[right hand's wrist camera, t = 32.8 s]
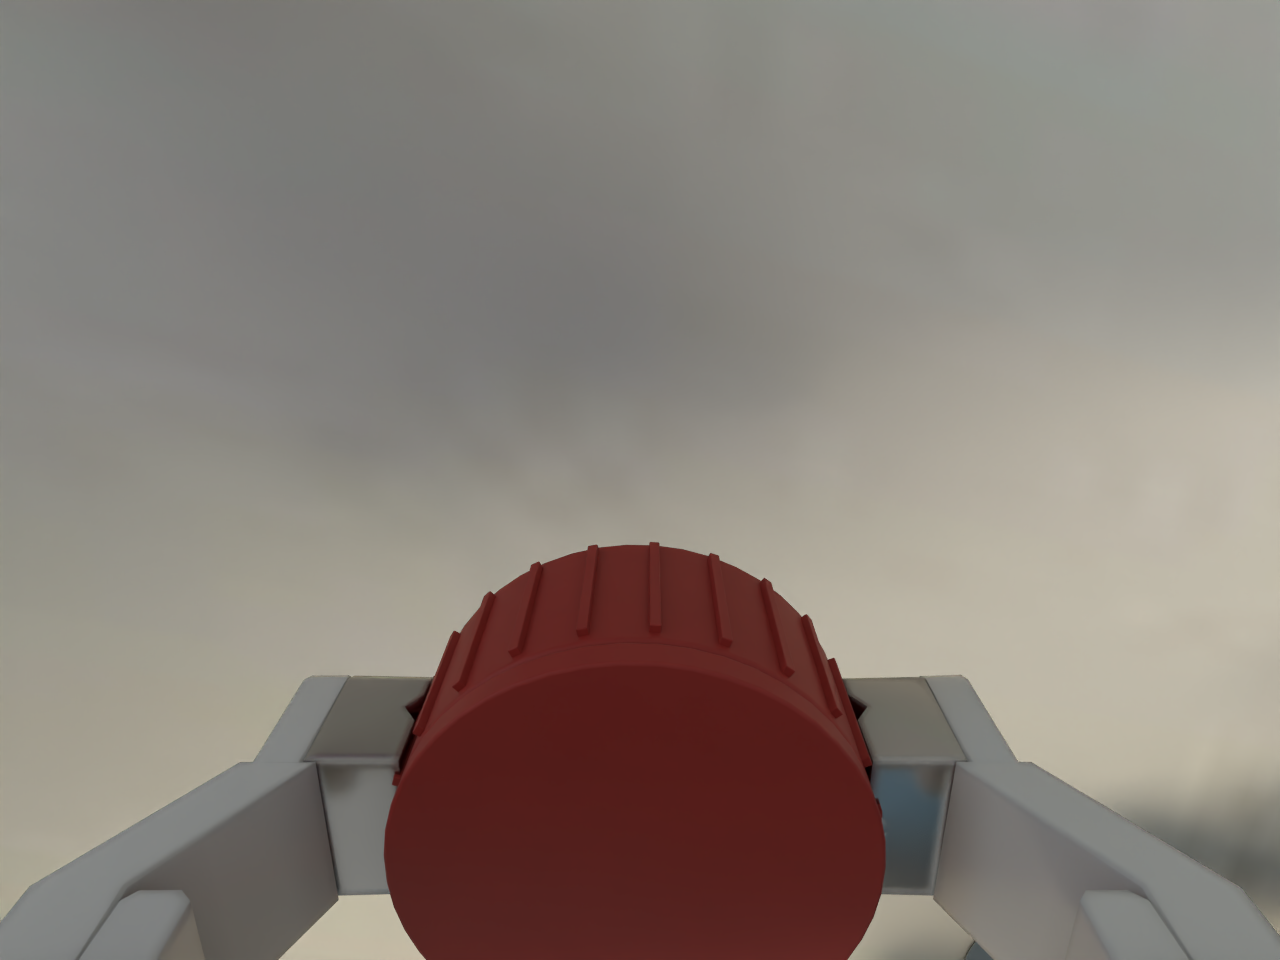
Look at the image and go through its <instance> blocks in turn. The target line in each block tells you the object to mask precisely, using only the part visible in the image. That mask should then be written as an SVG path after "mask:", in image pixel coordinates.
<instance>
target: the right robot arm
mask: <svg viewBox="0 0 1280 960" xmlns="http://www.w3.org/2000/svg"><path fill="white" fill-rule="evenodd" d="M433 679H434V677H394V676H353V677H351V676H349V675H334V676H311V677H308V678H306V679H305V680H304V681H303V682H302V683H301V685H300V687H299V688H298V690H297V692H296V693H295V695H294V696H293V698H292V700H291V701H290V703H289V705H288V706H287V708H286V709H285V711H284V713H283V714H282V716H281V717H280V719H279V721H278V722H277V724H276V726H275V727H274V729H273V730H272V732H271V734H270V735H269V737H268V738H267V740H266V742H265V743H264V745H263V747H262V748H261V750H260V751H259V753H258V755H257V756H256V758H255V760H254V761H253V762H240V763H238V764H236V765H235V766H233V767H231V768H229V769H228V770H226V771H224V772H223V773H221V774H219V775H218V776H216V777H214V778H212V779H211V780H209V781H207V782H206V783H204V784H202V785H201V786H199V787H197V788H196V789H194V790H192V791H190V792H189V793H187V794H185V795H184V796H182V797H180V798H179V799H177V800H175V801H173V802H172V803H170V804H168V805H167V806H165V807H163V808H162V809H160V810H158V811H157V812H155V813H153V814H151V815H150V816H148V817H146V818H145V819H143V820H141V821H140V822H138V823H136V824H134V825H133V826H131V827H129V828H128V829H126V830H124V831H123V832H121V833H119V834H118V835H116V836H114V837H112V838H111V839H109V840H107V841H106V842H104V843H102V844H101V845H99V846H97V847H95V848H94V849H92V850H90V851H89V852H87V853H85V854H84V855H82V856H80V857H79V858H77V859H75V860H73V861H72V862H70V863H68V864H67V865H65V866H63V867H62V868H60V869H58V870H56V871H55V872H53V873H51V874H50V875H48V876H46V877H45V878H43V879H41V880H40V881H38V882H36V883H34V884H33V885H31V886H29V888H28V889H27V890H26V891H25V893H24V894H23V895H22V896H21V898H20V899H19V900H18V901H17V902H16V904H15V905H14V906H13V907H12V909H11V910H10V911H9V912H8V914H7V915H6V916H5V917H4V918H3V920H2V921H1V922H0V960H278V959H279V958H280V957H281V956H282V955H283V954H284V953H285V952H286V951H287V950H288V949H289V948H290V947H291V946H292V945H293V944H294V943H295V942H296V941H297V940H298V939H299V938H300V937H301V936H302V935H303V934H304V933H305V932H306V931H307V930H308V929H310V928H311V927H312V926H313V925H314V924H315V923H316V922H317V921H318V920H319V919H320V918H321V917H322V916H323V915H324V914H325V913H326V912H327V911H328V910H329V909H330V908H331V907H332V906H333V905H334V904H335V903H336V902H337V901H338V895H372V894H390V891H389V888H388V885H387V880H386V871H385V863H384V839H385V828H386V823H387V819H388V815H389V810H390V806H391V803H392V800H393V797H394V795H395V792H396V790H397V787H398V786H394V785H392V781H393V777H394V775H395V774H398V775H400V774H401V771H402V769H403V766H404V764H405V761H406V758H407V756H408V753H409V751H410V748H411V746H412V743H413V740H414V738H415V734H413V730H414V727H415V722H416V719H417V717H418V714H419V712H420V710H421V709H422V707H423V704H424V702H425V699H426V697H427V694H428V692H429V689H430V687H431V684H432V682H433ZM842 680H843V683H844V686H845V688H846V691H847V694H848V697H849V700H850V703H851V705H852V708H853V711H854V714H855V717H856V719H857V722H858V725H859V728H860V731H861V734H862V736H863V739H864V742H865V745H866V748H867V750H868V753H869V756H870V759H871V762H872V765H871V766H868V767H865V770H866V773H867V776H868V779H869V782H870V785H871V788H872V791H873V794H874V796H875V799H876V802H877V804H880V805H881V808H882V818H881V819H882V824H883V829H884V835H885V840H886V868H885V874H884V881H883V887H882V893H881V894H899V895H934V897H933V899H934V900H935V901H936V902H937V903H938V904H939V905H940V906H941V907H942V908H943V909H944V910H945V911H946V912H947V913H948V914H949V915H950V916H951V917H952V918H953V919H954V920H955V921H956V922H957V923H958V924H959V925H960V926H961V927H962V928H963V929H964V930H965V931H966V932H967V933H968V934H969V935H970V936H971V937H972V938H973V939H974V940H975V941H976V942H977V943H978V944H979V945H980V946H981V947H982V948H983V949H984V950H985V951H986V952H987V953H988V954H989V955H990V956H991V957H992V958H993V959H994V960H1280V936H1279V935H1278V933H1277V932H1276V931H1275V929H1274V928H1273V927H1272V926H1271V924H1270V923H1269V922H1268V921H1267V919H1266V918H1265V917H1264V916H1263V914H1262V913H1261V912H1260V911H1259V909H1258V908H1257V907H1256V905H1255V904H1254V903H1253V902H1252V900H1251V899H1250V898H1249V897H1248V895H1247V894H1246V893H1245V892H1244V890H1243V889H1242V888H1241V887H1239V886H1238V885H1236V884H1234V883H1233V882H1231V881H1229V880H1228V879H1226V878H1224V877H1223V876H1221V875H1219V874H1218V873H1216V872H1214V871H1213V870H1211V869H1209V868H1208V867H1206V866H1204V865H1203V864H1201V863H1199V862H1197V861H1196V860H1194V859H1192V858H1191V857H1189V856H1187V855H1186V854H1184V853H1182V852H1181V851H1179V850H1177V849H1176V848H1174V847H1172V846H1171V845H1169V844H1167V843H1166V842H1164V841H1162V840H1161V839H1159V838H1157V837H1156V836H1154V835H1152V834H1151V833H1149V832H1147V831H1146V830H1144V829H1142V828H1141V827H1139V826H1137V825H1136V824H1134V823H1132V822H1131V821H1129V820H1127V819H1126V818H1124V817H1122V816H1120V815H1119V814H1117V813H1115V812H1114V811H1112V810H1110V809H1109V808H1107V807H1105V806H1104V805H1102V804H1100V803H1099V802H1097V801H1095V800H1094V799H1092V798H1090V797H1089V796H1087V795H1085V794H1084V793H1082V792H1080V791H1079V790H1077V789H1075V788H1074V787H1072V786H1070V785H1069V784H1067V783H1065V782H1064V781H1062V780H1060V779H1059V778H1057V777H1055V776H1054V775H1052V774H1050V773H1048V772H1047V771H1045V770H1043V769H1042V768H1040V767H1038V766H1037V765H1035V764H1033V763H1032V762H1018V761H1017V759H1016V757H1015V756H1014V754H1013V752H1012V751H1011V749H1010V747H1009V746H1008V744H1007V743H1006V741H1005V739H1004V738H1003V736H1002V734H1001V733H1000V731H999V729H998V728H997V726H996V725H995V723H994V721H993V720H992V718H991V716H990V715H989V713H988V712H987V710H986V708H985V707H984V705H983V703H982V702H981V700H980V698H979V697H978V695H977V694H976V692H975V690H974V689H973V687H972V685H971V684H970V682H969V680H968V679H967V678H965V677H963V676H962V675H943V676H920V677H896V678H842Z"/></svg>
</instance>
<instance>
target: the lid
mask: <svg viewBox="0 0 1280 960" xmlns="http://www.w3.org/2000/svg"><path fill="white" fill-rule="evenodd" d="M413 734H415V738H414V740H413V743H412V746H411V748H410V751H409V753H408V756H407V758H406V761H405V764H404V766H403V769H402V771H401V774H400V775H398V774H395V775H394V777H393V781H392V785H394V786H398V787H397V790H396V792H395V795H394V797H393V800H392V803H391V806H390V810H389V815H388V819H387V823H386V828H385V839H384V863H385V871H386V880H387V885H388V888H389V891H390V895H391V898H392V902H393V905H394V908H395V910H396V912H397V914H398V917H399V919H400V921H401V923H402V925H403V927H404V929H405V931H406V933H407V934H408V936H409V937H410V939H411V940H412V942H413V943H414V945H415V946H416V948H417V949H418V951H419V952H420V953H421V954H422V955H423V957H424V958H425V959H426V960H847V959H848V958H849V957H850V955H851V954H852V952H853V951H854V950H855V948H856V947H857V945H858V944H859V943H860V941H861V940H862V938H863V936H864V934H865V932H866V930H867V928H868V927H869V925H870V923H871V921H872V919H873V917H874V914H875V911H876V908H877V905H878V902H879V899H880V896H881V893H882V887H883V881H884V874H885V868H886V840H885V835H884V829H883V824H882V819H881V818H882V808H881V805H880V804H877V802H876V799H875V796H874V794H873V791H872V788H871V785H870V782H869V779H868V776H867V773H866V770H865V767H868V766H871V765H872V762H871V759H870V756H869V753H868V750H867V748H866V745H865V742H864V739H863V736H862V734H861V731H860V728H859V725H858V722H857V719H856V717H855V714H854V711H853V708H852V705H851V703H850V700H849V697H848V694H847V691H846V688H845V686H844V683H843V680H842V677H841V674H840V671H839V669H838V666H837V663H836V661H835V658H832V659H829V660H827V657H826V654H825V652H824V650H823V649H822V647H821V645H820V643H819V641H818V638H817V635H816V632H815V629H814V626H813V623H812V620H811V619H810V618H809V616H808V615H807V614H806V615H804V616H803V617H801V616H800V614H799V613H798V612H797V611H796V610H795V609H794V608H793V607H792V606H791V605H790V604H789V603H788V602H787V601H786V600H785V599H784V598H783V597H782V596H780V595H779V594H778V593H776V592H775V591H774V590H773V587H772V584H771V582H770V581H768V580H767V579H765V578H764V579H763V580H762V581H760V580H758V579H757V578H755V577H753V576H751V575H749V574H748V573H746V572H744V571H742V570H740V569H739V568H737V567H735V566H732V565H730V564H727V563H725V562H722V561H720V560H719V556H718V555H715V554H712V553H710V555H709V556H706V555H702V554H698V553H695V552H691V551H687V550H683V549H677V548H669V547H662V546H659V543H657V542H650V543H649V545H621V546H611V547H601V548H598V545H592V546H588V550H586V551H582V552H577V553H573V554H569V555H567V556H564V557H561V558H558V559H555V560H553V561H550V562H547V563H544V564H542V565H541V564H540V562H537V563H534V564H532V565H531V568H530V571H528V572H527V573H525V574H523V575H521V576H519V577H518V578H516V579H515V580H513V581H512V582H510V583H509V584H507V585H506V586H504V587H503V588H501V589H500V590H499V591H498V592H496V593H495V594H493V593H492V592H491V591H490V592H488V593H487V594H486V595H485V596H484V598H483V601H482V604H481V606H480V608H479V609H478V610H477V612H476V613H475V614H474V615H473V616H472V618H471V619H470V620H469V621H468V622H467V624H466V625H465V626H464V628H463V629H462V631H461V633H458V632H456V631H453V633H452V635H451V636H450V639H449V641H448V644H447V646H446V649H445V651H444V654H443V656H442V659H441V661H440V664H439V666H438V669H437V671H436V674H435V676H434V679H433V682H432V684H431V687H430V689H429V692H428V694H427V697H426V699H425V702H424V704H423V707H422V709H421V710H420V712H419V714H418V717H417V719H416V722H415V727H414V730H413Z"/></svg>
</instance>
